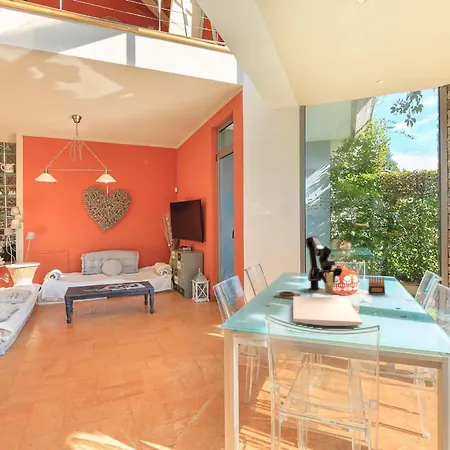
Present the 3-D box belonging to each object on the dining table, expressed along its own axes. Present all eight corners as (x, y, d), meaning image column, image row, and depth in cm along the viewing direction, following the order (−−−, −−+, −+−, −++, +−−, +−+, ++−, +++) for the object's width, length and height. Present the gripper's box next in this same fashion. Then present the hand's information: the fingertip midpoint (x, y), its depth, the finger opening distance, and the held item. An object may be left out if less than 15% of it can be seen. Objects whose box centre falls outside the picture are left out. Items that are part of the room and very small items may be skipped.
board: (293, 303, 205) (293, 296, 205) (347, 305, 199) (347, 298, 199) (293, 327, 161) (293, 318, 161) (362, 331, 155) (362, 321, 155)
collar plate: (280, 292, 233) (280, 289, 233) (300, 294, 226) (300, 291, 226) (273, 297, 221) (273, 293, 221) (293, 299, 214) (293, 296, 214)
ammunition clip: (368, 293, 227) (368, 276, 227) (368, 292, 229) (368, 275, 229) (385, 293, 226) (385, 276, 225) (384, 293, 228) (384, 276, 227)
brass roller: (326, 291, 215) (326, 271, 214) (334, 292, 212) (333, 272, 212) (324, 292, 210) (324, 272, 210) (332, 293, 208) (332, 273, 207)
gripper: (313, 256, 214) (318, 276, 204) (341, 255, 215) (347, 275, 204) (309, 266, 222) (314, 285, 212) (336, 265, 223) (343, 285, 212)
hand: (329, 282), depth 210 cm, fingers closed on brass roller, 5 cm apart
